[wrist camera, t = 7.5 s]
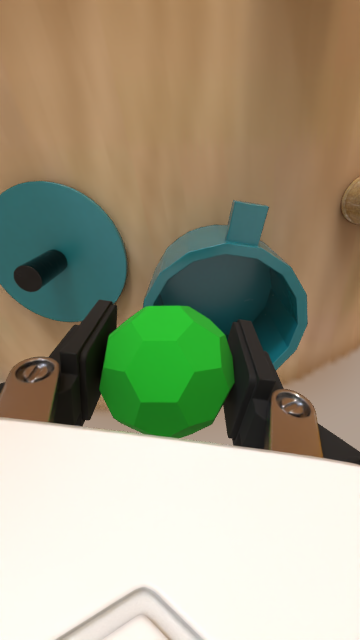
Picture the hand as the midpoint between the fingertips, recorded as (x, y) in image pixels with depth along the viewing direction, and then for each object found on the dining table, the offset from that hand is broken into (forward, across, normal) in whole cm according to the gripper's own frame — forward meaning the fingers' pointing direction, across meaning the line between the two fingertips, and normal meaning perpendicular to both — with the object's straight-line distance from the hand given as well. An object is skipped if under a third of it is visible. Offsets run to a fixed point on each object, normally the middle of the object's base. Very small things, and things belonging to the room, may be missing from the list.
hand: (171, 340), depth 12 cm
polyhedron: (+1, 0, 0) cm, 1 cm away
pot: (+18, -4, +4) cm, 19 cm away
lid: (+17, +13, +3) cm, 22 cm away
